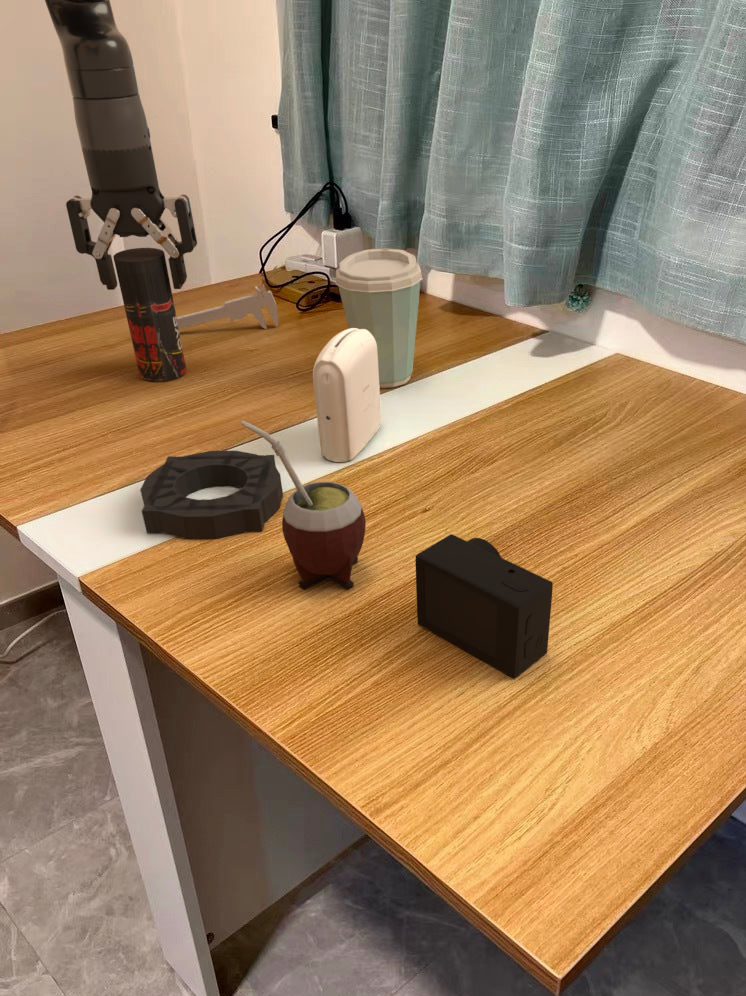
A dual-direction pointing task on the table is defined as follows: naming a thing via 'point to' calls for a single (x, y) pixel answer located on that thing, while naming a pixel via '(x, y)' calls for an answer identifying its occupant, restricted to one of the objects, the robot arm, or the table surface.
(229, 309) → the caliper
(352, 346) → the photo printer
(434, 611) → the digital camera
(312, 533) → the mate gourd
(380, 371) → the disposable coffee cup
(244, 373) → the table surface
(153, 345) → the deodorant
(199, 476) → the dock pad
